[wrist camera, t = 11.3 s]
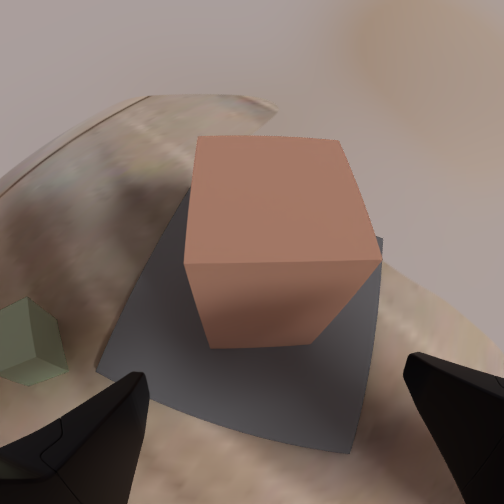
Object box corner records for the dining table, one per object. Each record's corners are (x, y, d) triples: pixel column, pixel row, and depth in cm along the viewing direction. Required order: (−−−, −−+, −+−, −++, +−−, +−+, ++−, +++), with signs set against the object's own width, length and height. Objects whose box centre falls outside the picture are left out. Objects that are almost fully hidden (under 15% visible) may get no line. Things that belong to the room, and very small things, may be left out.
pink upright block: (310, 344, 17) (382, 259, 9) (210, 348, 17) (183, 263, 8) (298, 259, 20) (338, 140, 12) (211, 260, 20) (197, 136, 11)
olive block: (69, 371, 15) (36, 356, 12) (29, 386, 14) (-7, 374, 11) (57, 319, 17) (27, 296, 14) (19, 336, 16) (-13, 316, 13)
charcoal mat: (380, 241, 22) (382, 238, 22) (346, 453, 14) (349, 454, 13) (192, 189, 24) (191, 185, 23) (98, 372, 15) (95, 371, 15)
